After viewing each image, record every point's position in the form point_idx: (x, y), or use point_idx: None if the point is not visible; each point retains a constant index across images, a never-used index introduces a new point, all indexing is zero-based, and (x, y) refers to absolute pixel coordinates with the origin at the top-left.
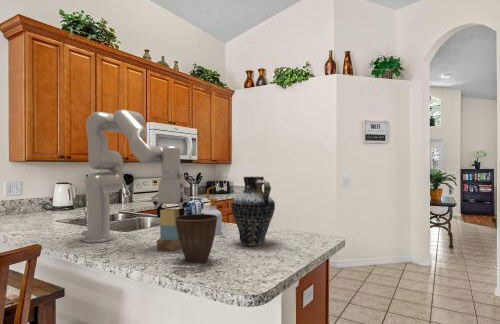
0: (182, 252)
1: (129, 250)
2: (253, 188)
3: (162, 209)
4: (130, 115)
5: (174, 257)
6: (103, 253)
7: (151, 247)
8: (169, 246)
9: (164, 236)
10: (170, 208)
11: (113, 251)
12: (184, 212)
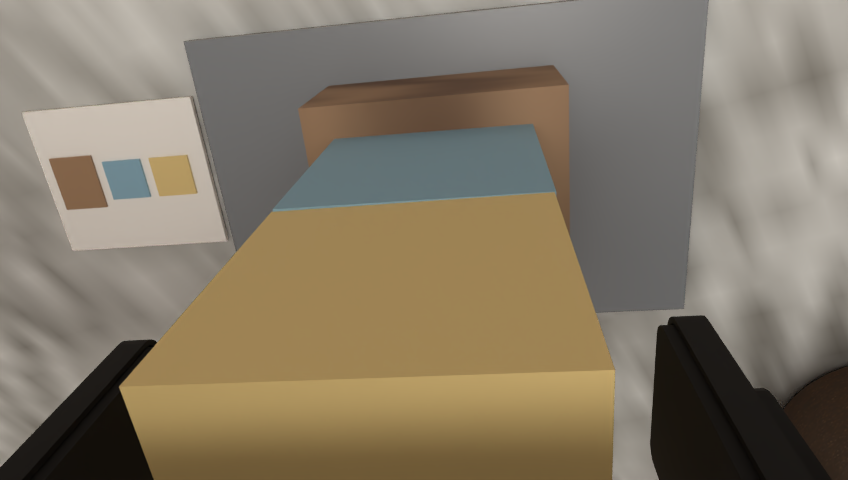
0: (648, 285)
1: (103, 300)
2: None
3: (67, 466)
4: None
5: (620, 380)
6: (12, 418)
7: (235, 207)
8: None
9: None
10: (226, 386)
11: (18, 357)
12: (800, 437)
